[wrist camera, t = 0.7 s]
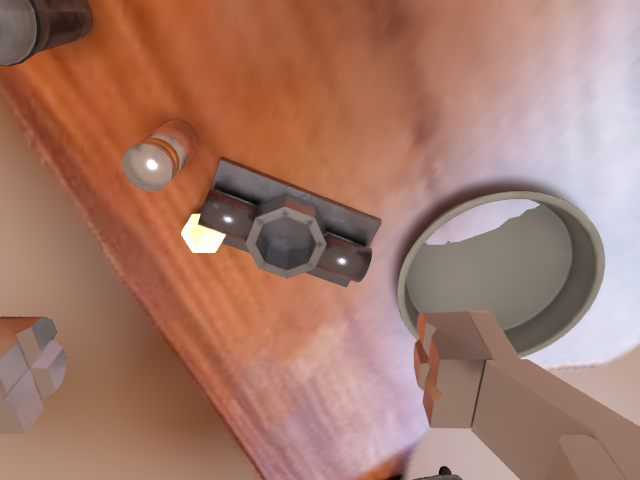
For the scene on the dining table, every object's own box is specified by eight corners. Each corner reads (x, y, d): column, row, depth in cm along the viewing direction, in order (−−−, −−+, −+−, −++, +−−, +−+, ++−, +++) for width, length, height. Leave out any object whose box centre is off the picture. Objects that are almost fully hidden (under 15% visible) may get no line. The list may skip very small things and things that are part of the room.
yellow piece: (183, 212, 51) (180, 214, 49) (227, 213, 52) (226, 214, 50) (184, 249, 52) (181, 252, 50) (227, 249, 53) (226, 252, 51)
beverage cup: (92, 68, 45) (-57, 104, 27) (21, 26, 43) (-190, 35, 25) (118, 0, 42) (-31, -9, 24) (42, -48, 40) (-179, -97, 22)
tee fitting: (222, 157, 49) (211, 172, 44) (380, 219, 53) (386, 240, 48) (198, 230, 53) (186, 251, 48) (346, 283, 57) (348, 307, 52)
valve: (164, 113, 47) (127, 136, 38) (203, 129, 48) (177, 156, 39) (154, 150, 49) (118, 180, 40) (192, 165, 49) (165, 198, 41)
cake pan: (625, 252, 55) (649, 271, 51) (482, 367, 64) (493, 391, 60) (493, 136, 48) (508, 147, 44) (353, 284, 57) (356, 304, 53)
